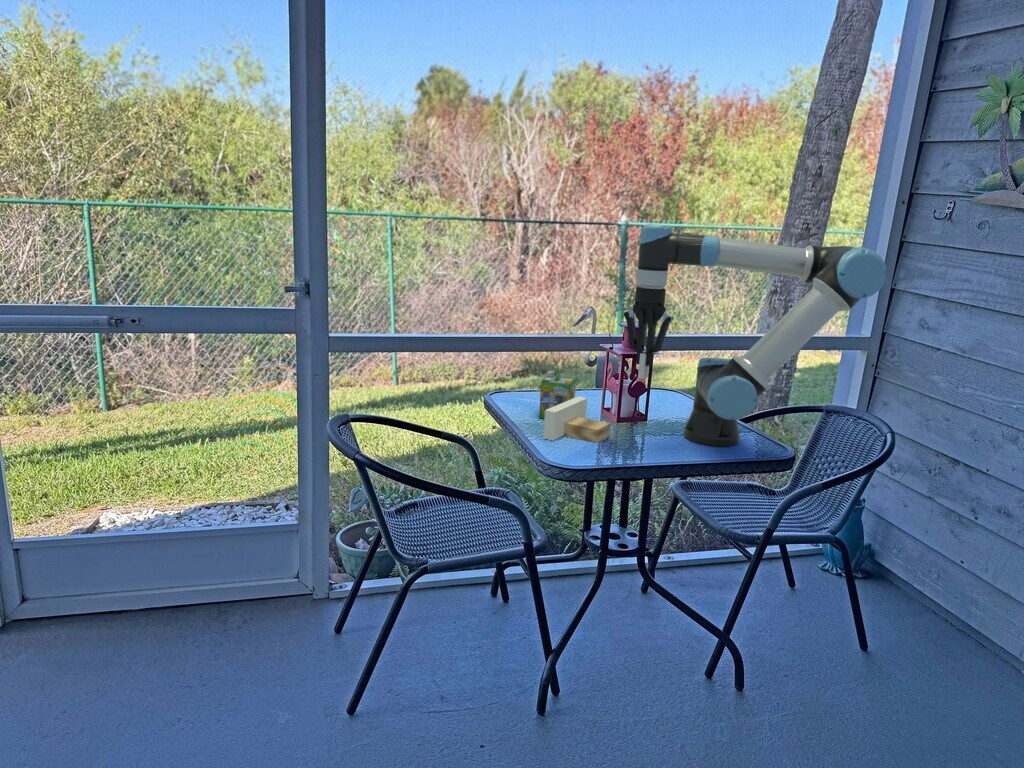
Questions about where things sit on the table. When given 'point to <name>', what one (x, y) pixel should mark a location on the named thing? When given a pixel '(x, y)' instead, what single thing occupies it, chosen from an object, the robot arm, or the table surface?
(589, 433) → the oak block
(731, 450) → the table surface
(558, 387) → the chalk box
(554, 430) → the white board
